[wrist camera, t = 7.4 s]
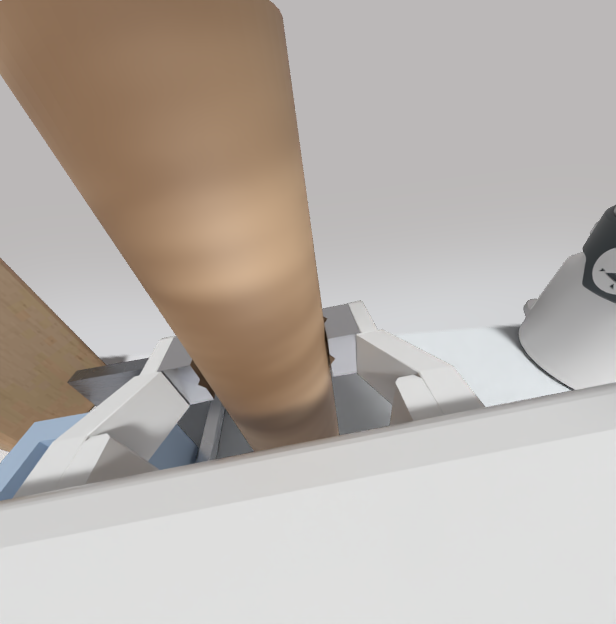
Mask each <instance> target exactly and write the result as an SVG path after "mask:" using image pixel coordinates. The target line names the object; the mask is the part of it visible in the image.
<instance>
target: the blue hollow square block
mask: <svg viewBox="0 0 616 624" xmlns="http://www.w3.org/2000/svg"><path fill="white" fill-rule="evenodd" d="M89 413H90V412H89ZM87 414H88V413H83V414H77V415H72V416H66V417H61V418H55V419H49V420H44V421H38V422H34V423H33V425H32V426H31V427H30V428H29V429H28V431H27V432H26V433H25V434H24V435H23V437H22V438H21V439H20V440H19V441H18V443H17V444H16V445H15V446H14V447H13V449H12V450H11V451H10V452H9V453H8V454H7V456H6V457H5V458H4V459H3V460H2V462H1V463H0V501H2V500H7V499H12V498H13V497H14V495H15V494H16V492H17V491H18V490H19V488H20V487H21V485H22V484H23V483H24V481H25V480H26V478H27V477H28V476H29V474H30V473H31V471H32V470H33V469H34V467H35V466H36V464H37V463H38V462H39V460H40V459H41V457H42V456H43V455H44V453H45V452H46V451H47V449H48V448H49V446H50V445H51V444H52V442H53V441H55V440H56V439H57V438H58V437H60V436H61V435H62V434H63V433H65V432H66V431H67V430H68V429H70V428H71V427H72V426H73V425H75V424H76V423H77V422H78V421H80V420H81V419H82V418H83V417H85V416H86V415H87ZM197 452H198V447H197V446H196V444H195V443H194V442H193V441H192V440H191V439H190V438H189V437H188V436H187V435H186V434H185V433H184V432H183V430H182V429H181V428H180V427H179V426H178V425H177V424H176V425H175V426H174V428H173V429H172V430H171V432H170V433H169V434H168V436H167V437H166V438H165V440H164V441H163V442H162V443H161V445H160V446H159V447H158V449H157V450H156V451H155V453H154V454H153V455H152V457H151V458H150V459H149V461H148V462H149V463H151V464H152V465H154V466H155V467H156V468H158V469H159V470H163V469H168V468H173V467H178V466H183V465H189V464H194V463H195V460H196V456H197Z"/></svg>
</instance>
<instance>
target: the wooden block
mask: <svg viewBox="0 0 616 624" xmlns="http://www.w3.org/2000/svg"><path fill="white" fill-rule="evenodd" d="M100 366H106V364H105V363H104V362H103V361H102V360H101V359H100V358H99V357H98V356H97V355H95V353H94V352H93V351H92V350H91V349H90V348H89V347H88V346H87V345H86V344H85V343H84V342H83V341H82V340H81V339H80V338H79V337H78V336H77V335H76V334H75V333H74V332H73V331H72V330H71V329H70V328H69V327H68V326H67V325H66V324H65V323H64V322H63V321H62V320H61V319H60V318H59V317H58V316H57V315H56V314H55V313H54V312H53V311H52V310H51V309H50V308H49V307H48V306H47V305H46V304H45V303H44V302H43V301H42V300H41V299H40V298H39V297H38V296H37V295H36V294H35V292H33V291H32V289H31V288H30V287H28V286H27V284H26V283H25V282H24V281H23V280H22V279H21V278H20V277H19V276H18V275H17V274H16V273H15V272H14V271H13V270H12V269H11V268H10V267H9V266H8V265H7V264H6V263H5V262H4V261H3V260H2V259H1V258H0V449H1V450H5V451H8V452H10V451H11V450H12V449H13V447H14V446H15V445H16V444H17V443H18V441H19V440H20V439H21V438H22V437H23V435H24V434H25V433H26V432H27V431H28V429H29V428H30V427H31V426H32V425H33V423H34V422H38V421H44V420H49V419H55V418H61V417H66V416H72V415H77V414H83V413H88V412H89V411H90V410H91V409H92V408H93V407H94V406H95V405H94V404H93V403H92V402H90V401H89V400H88V399H87V398H85V397H84V396H83V395H82V394H81V393H79V392H78V391H77V390H76V389H74V388H73V387H72V386H71V385H70V384H68V383H67V382H68V380H69V379H70V378H71V377H72V376H73V375H74V373H75V372H76V371H77V370H83V369H88V368H94V367H100Z"/></svg>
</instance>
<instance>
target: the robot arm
mask: <svg viewBox="0 0 616 624" xmlns="http://www.w3.org/2000/svg"><path fill="white" fill-rule="evenodd" d="M322 312H323V319H324V328H325V336H326V342H327V348H328V357H329V364H330V368H331V371H332V375H333V377H335V376H341V375H347V374H353V373H357V374H358V375H359V376H360V377H361V378H362V379H364V380H365V381H366V382H367V383H368V384H369V385H370V386H371V387H373V388H374V389H375V390H376V391H377V392H378V393H379V394H380V395H382V396H383V397H384V398H385V399H386V400H387V401H388V402H390V403H391V404H392V411H391V418H390V425H389V426H386V427H380V428H375V429H370V430H365V431H360V432H354V433H349V434H344V435H339V436H334V437H328V438H323V439H318V440H313V441H308V442H302V443H297V444H292V445H287V446H282V447H276V448H271V449H266V450H261V451H256V452H251V453H245V454H240V455H235V456H230V457H225V458H220V459H214V460H209V461H204V462H199V463H194V464H189V465H183V466H178V467H173V468H168V469H163V470H159V469H158V468H156V467H155V466H154V465H152V464H151V463H149V462H148V461H149V459H150V458H151V457H152V455H153V454H154V453H155V451H156V450H157V449H158V447H159V446H160V445H161V443H162V442H163V441H164V440H165V438H166V437H167V436H168V434H169V433H170V432H171V430H172V429H173V428H174V426H175V425H176V424H177V422H178V421H179V420H180V419H181V417H182V416H183V415H184V413H185V412H186V411H187V409H188V408H189V407H190V406H189V405H192V404H196V403H201V402H205V401H210V400H214V398H215V393H214V391H213V390H212V388H211V387H210V385H209V384H208V382H207V381H206V379H205V378H204V376H203V375H202V373H201V372H200V370H199V369H198V367H197V366H196V364H195V363H194V361H193V360H192V358H191V357H190V355H189V354H188V352H187V351H186V349H185V348H184V346H183V345H182V343H181V342H180V341H179V339H178V338H177V336H172V337H166V338H162V339H161V340H159V341H158V343H157V345H156V347H155V348H154V350H153V352H152V354H151V356H150V357H149V359H148V361H147V363H146V364H145V366H144V368H143V370H142V372H141V373H140V375H139V376H135V377H133V378H132V379H131V380H129V381H128V382H127V383H126V384H125V385H123V386H122V387H121V388H120V389H118V390H117V391H116V392H115V393H113V394H112V395H111V396H110V397H108V398H107V399H106V400H105V401H103V402H102V403H101V404H100V405H98V406H97V407H96V408H95V409H93V410H92V411H91V412H90V413H88V414H87V415H86V416H85V417H83V418H82V419H81V420H80V421H78V422H77V423H76V424H75V425H73V426H72V427H71V428H70V429H68V430H67V431H66V432H65V433H63V434H62V435H61V436H60V437H58V438H57V439H56V440H55V441H53V442H52V444H51V445H50V446H49V448H48V449H47V451H46V452H45V453H44V455H43V456H42V457H41V459H40V460H39V462H38V463H37V464H36V466H35V467H34V469H33V470H32V471H31V473H30V474H29V476H28V477H27V478H26V480H25V481H24V483H23V484H22V485H21V487H20V488H19V490H18V491H17V492H16V494H15V495H14V497H13V498H12V499H7V500H2V501H0V624H616V205H615V206H612V207H610V208H609V209H607V210H606V211H605V213H604V214H603V216H602V217H601V219H600V220H599V221H598V222H597V223H596V224H595V226H594V227H593V229H592V230H591V232H590V236H589V238H588V240H587V241H586V243H585V244H584V246H583V252H581V253H577V254H575V255H571V256H570V257H569V258H567V259H566V261H565V262H564V263H563V265H562V266H561V267H560V269H559V270H558V271H557V273H556V274H555V275H554V277H553V278H552V280H551V281H550V282H549V284H548V285H547V287H546V288H545V289H544V291H543V292H542V294H541V295H540V296H539V298H538V299H530V300H528V301H527V303H526V304H525V306H524V313H525V316H526V318H525V320H524V322H523V323H522V325H521V326H520V328H519V339H520V342H521V345H522V346H523V348H524V350H525V351H526V352H527V354H528V355H529V356H530V357H531V358H532V359H533V360H534V361H535V362H536V363H537V364H538V365H539V366H540V367H541V368H542V369H544V370H545V371H546V372H548V373H549V374H550V375H552V376H553V377H555V378H556V379H558V380H559V381H561V382H562V383H564V384H566V385H567V386H569V387H571V388H573V389H575V390H572V391H567V392H562V393H557V394H551V395H546V396H541V397H536V398H531V399H526V400H520V401H515V402H510V403H505V404H500V405H494V406H489V407H485V406H484V405H483V403H482V402H481V401H480V400H479V398H478V397H477V396H476V394H475V393H474V392H473V391H472V389H471V388H470V387H469V385H468V384H467V383H466V382H465V380H464V379H463V378H462V376H461V375H460V374H459V372H458V371H457V370H456V369H455V367H454V366H452V365H451V364H449V363H447V362H445V361H443V360H441V359H439V358H437V357H435V356H433V355H431V354H429V353H427V352H425V351H424V350H422V349H420V348H418V347H416V346H414V345H412V344H410V343H408V342H406V341H404V340H402V339H400V338H398V337H396V336H395V335H393V334H391V333H389V332H387V331H385V330H383V329H381V330H378V329H377V327H376V325H375V323H374V322H373V320H372V318H371V316H370V314H369V313H368V311H367V309H366V307H365V305H364V303H363V302H362V301H361V300H360V301H355V302H351V303H347V304H344V305H338V306H333V307H329V308H323V309H322Z"/></svg>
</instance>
